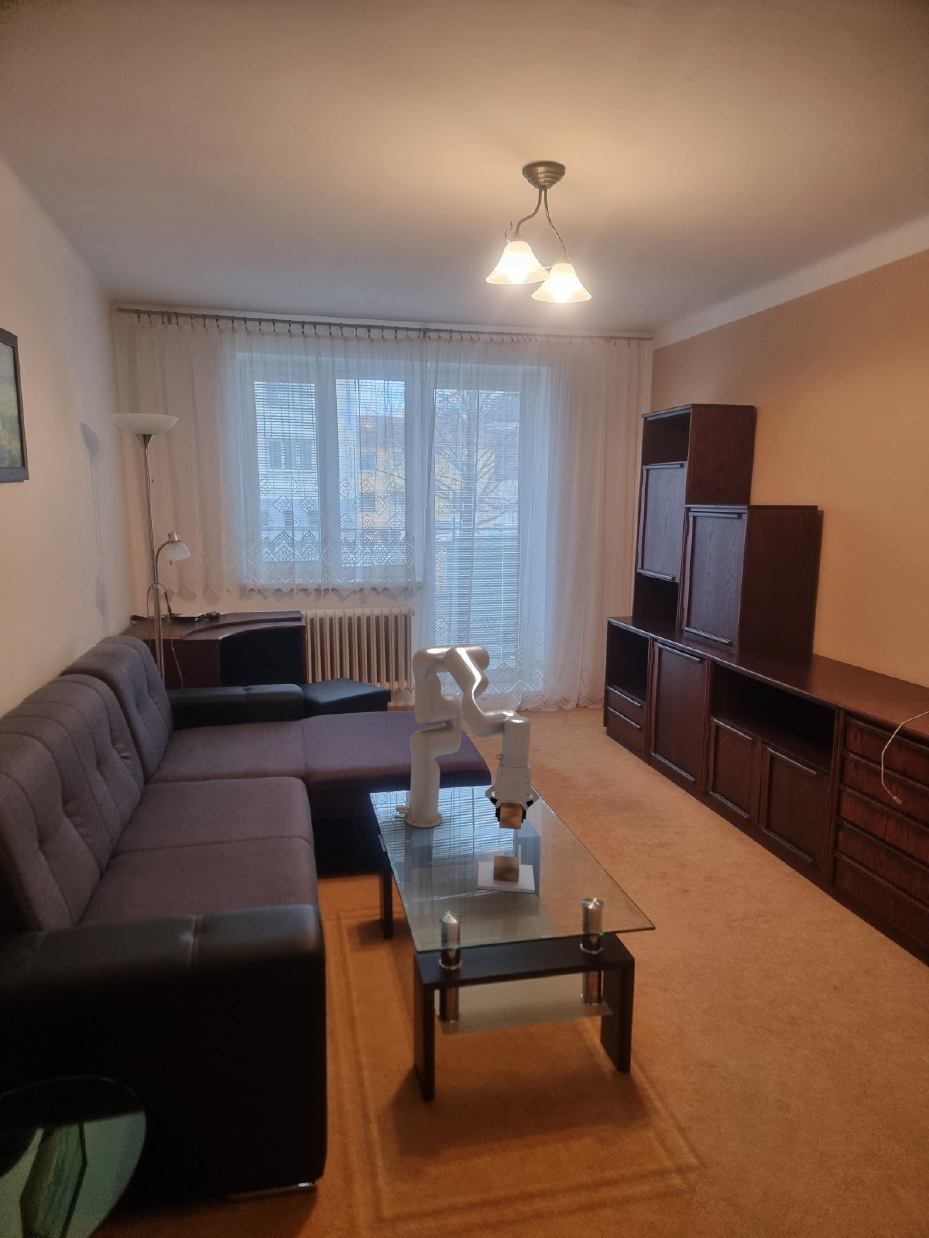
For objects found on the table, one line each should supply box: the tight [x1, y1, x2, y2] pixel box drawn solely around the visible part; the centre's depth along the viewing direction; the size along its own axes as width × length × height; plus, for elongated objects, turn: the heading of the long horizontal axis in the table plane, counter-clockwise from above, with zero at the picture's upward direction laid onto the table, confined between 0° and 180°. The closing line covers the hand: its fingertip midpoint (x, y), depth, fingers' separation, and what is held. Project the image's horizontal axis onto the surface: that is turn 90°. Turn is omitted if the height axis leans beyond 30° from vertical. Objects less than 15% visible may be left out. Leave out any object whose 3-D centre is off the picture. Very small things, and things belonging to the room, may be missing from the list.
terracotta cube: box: [498, 801, 522, 830], centre depth 216 cm, size 6×6×6 cm
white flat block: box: [476, 855, 536, 894], centre depth 219 cm, size 16×14×5 cm
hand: (510, 819), depth 216 cm, fingers closed on terracotta cube, 6 cm apart
